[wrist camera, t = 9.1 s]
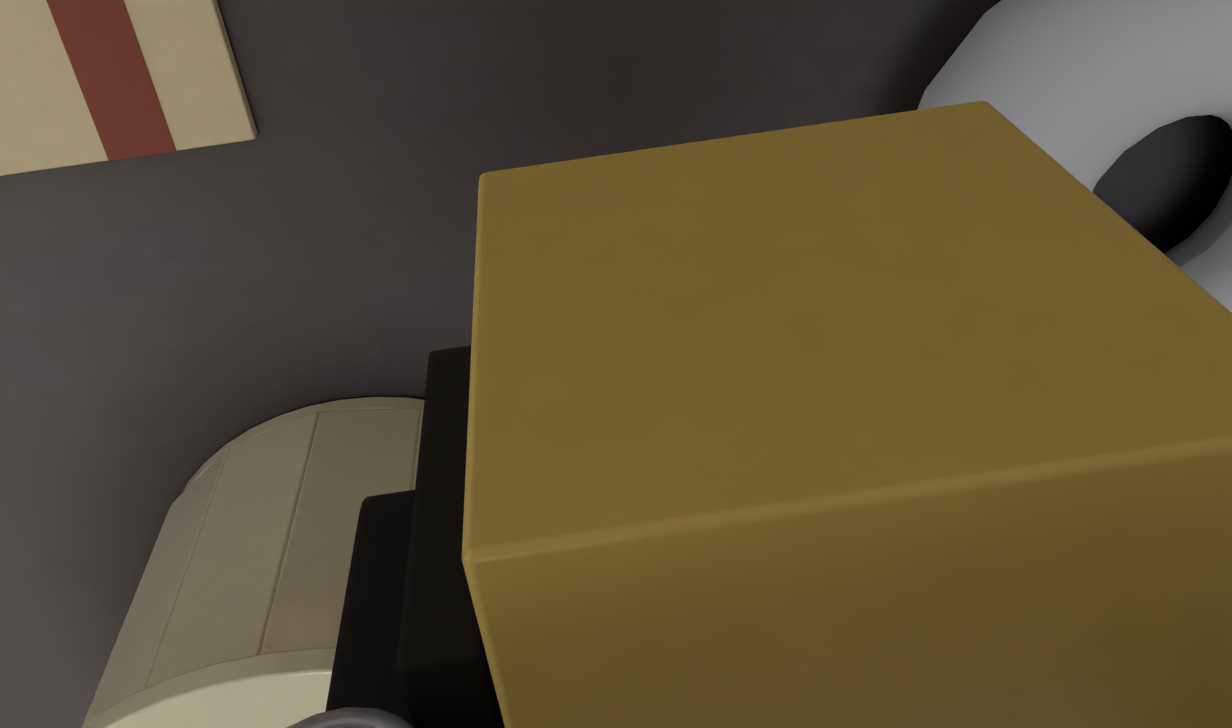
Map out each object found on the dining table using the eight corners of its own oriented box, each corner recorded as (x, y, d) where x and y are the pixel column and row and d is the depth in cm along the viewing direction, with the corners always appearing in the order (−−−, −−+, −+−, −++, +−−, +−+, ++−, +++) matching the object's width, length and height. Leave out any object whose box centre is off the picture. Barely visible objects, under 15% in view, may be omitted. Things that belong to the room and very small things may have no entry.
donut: (1055, -214, 18) (773, 296, 22) (1165, -198, 15) (815, 386, 19) (1480, 21, 21) (1155, 433, 25) (1643, 74, 18) (1242, 530, 22)
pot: (62, 499, 24) (-97, 799, 17) (505, 324, 22) (506, 582, 16) (311, 777, 29) (258, 1083, 23) (679, 651, 28) (731, 938, 21)
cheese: (478, 170, 10) (459, 559, 5) (987, 96, 10) (1368, 423, 5) (571, 653, 13) (606, 1134, 9) (955, 595, 13) (1179, 1045, 9)
